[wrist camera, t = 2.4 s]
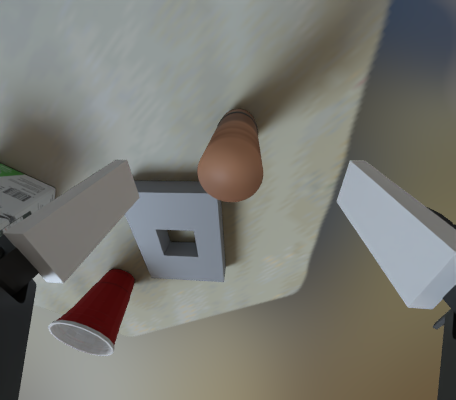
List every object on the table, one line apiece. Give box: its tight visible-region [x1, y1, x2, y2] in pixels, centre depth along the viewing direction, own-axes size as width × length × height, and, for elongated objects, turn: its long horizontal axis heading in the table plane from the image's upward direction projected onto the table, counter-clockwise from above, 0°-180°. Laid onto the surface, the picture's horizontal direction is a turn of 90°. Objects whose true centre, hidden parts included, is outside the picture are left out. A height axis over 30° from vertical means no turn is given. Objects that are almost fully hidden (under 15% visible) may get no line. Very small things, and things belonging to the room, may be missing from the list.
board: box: [125, 181, 226, 282], centre depth 30 cm, size 18×13×3 cm
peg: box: [197, 109, 263, 202], centre depth 17 cm, size 4×4×12 cm
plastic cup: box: [48, 269, 135, 356], centre depth 36 cm, size 11×11×12 cm
